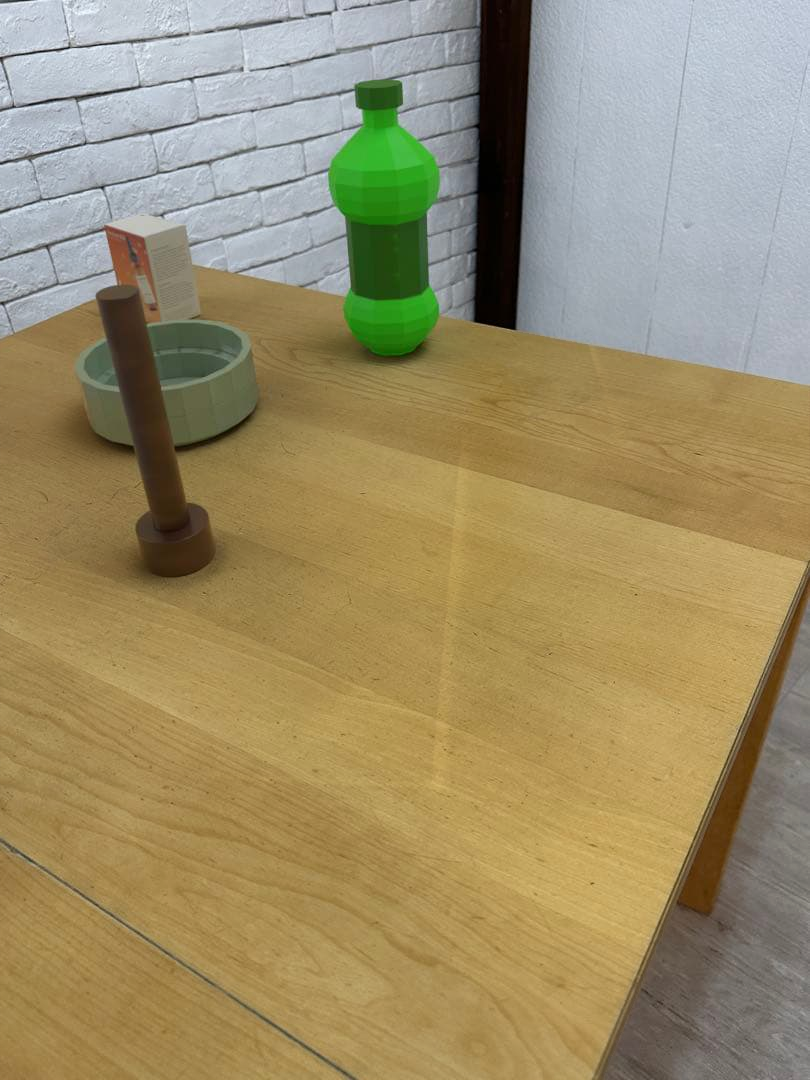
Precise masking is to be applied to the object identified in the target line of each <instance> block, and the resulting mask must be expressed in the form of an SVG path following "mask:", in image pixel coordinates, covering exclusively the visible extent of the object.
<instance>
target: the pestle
mask: <svg viewBox="0 0 810 1080" xmlns="http://www.w3.org/2000/svg"><path fill="white" fill-rule="evenodd" d="M95 300H96V305H97V308H98V312H99V317H100V319H101V324H102V328H103V331H104V336H105V337H106V340H107V344H108V348H109V352H110V356H111V360H112V364H113V367H114V371H115V375H116V379H117V383H118V387H119V391H120V395H121V399H122V403H123V407H124V411H125V415H126V419H127V423H128V427H129V430H130V434H131V438H132V442H133V446H132V447H133V449H134V454H135V458H136V461H137V464H138V469H139V474H140V478H141V481H142V485H143V489H144V494H145V498H146V501H147V505H148V509H149V510H148V511H146V512H144V514H142V515H141V516H140V517H139V519H137V522H136V524H135V527H134V530H135V534H136V535H135V536H136V539H137V542H138V545H139V550H140V553H141V557H142V560H143V565H144V566H145V568H146V570H148V571H149V572H150V573H152V574H154V575H157V576H161V577H166V578H169V577H170V578H174V577H183V576H186V575H190V574H193V573H195V572H197V571H199V570H201V569H203V568H205V567H206V566H207V565H208V564H209V563H211V561H212V560H213V559H214V556H215V554H216V545H215V540H214V535H213V531H212V526H211V521H210V516H209V512H208V511H207V510H206V509H205V508H204V507H203V506H201V505H199V504H198V503H197V504H196V503H193V502H189V501H188V502H187V497H186V493H185V489H184V484H183V480H182V475H181V470H180V466H179V462H178V458H177V453H176V449H175V447H174V443H173V439H172V435H171V430H170V426H169V421H168V417H167V412H166V408H165V403H164V399H163V394H162V390H161V385H160V381H159V376H158V372H157V367H156V363H155V359H154V354H153V350H152V345H151V341H150V336H149V332H148V327H147V324H148V322H146V318H145V314H144V309H143V305H142V300H141V296H140V291H139V289H138V287H136V286H133V285H117V284H115V285H111V286H110V285H109V286H107V287H104V288H101V289H100V290H98V291H96V293H95Z"/></svg>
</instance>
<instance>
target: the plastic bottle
mask: <svg viewBox="0 0 810 1080" xmlns="http://www.w3.org/2000/svg"><path fill="white" fill-rule="evenodd" d="M353 86H354V97H355V99H354V101H355V107H356V108H357V109H358V110H361V115H362V126H361V127H360V128H359V129H358V130H357V131H356V132H355V133H354V134H353V135H352V136H351V137H350V138H349V139H348V140H347V141H346V142H345V143H344V145H343V146H342V147H341V148H340V150H339V151H338V152H337V153H336V155H335V156H333V158H332V159H331V161H330V165H329V169H328V173H327V181H328V190H329V193H330V197H331V200H332V204H333V205H334V206H335V207H336V208H337V210H338V211H339V212H340V213H341V214H342V215H343V216H344V220H345V221H344V222H345V230H346V231H345V234H346V246H347V257H348V268H349V269H348V270H349V281H350V288H349V290H348V292H347V294H346V295H345V296H346V297H345V300H344V303H343V317H344V320H345V322H346V324H347V326H348V329H349V330H350V332H351V334H352V335H353V336H354V338H355V340H357V341H358V343H359V344H361V345H363V346H364V347H365V348H367V350H368V349H369V350H370V352H371V353H373V354H377V355H381V356H383V357H388V356H389V357H391V356H393V357H394V356H403V355H406V354H409V353H411V352H414V351H415V349H416V348H417V347H418V346H419V345H420V344H422V343H423V342H424V340H425V339H426V338H427V337H428V336H429V335H430V333H431V332H432V331H433V329H434V328H435V327H436V325H437V322H438V320H439V317H440V304H439V303H440V302H439V301H438V298H437V296H436V293H435V291H434V290H433V289H432V287H431V285H430V273H429V272H430V271H429V242H428V240H429V238H428V211H429V210H430V209H431V208H432V207H433V205H434V204H435V203H436V201H437V200H438V196H439V190H440V185H441V183H440V168H439V166H438V163H437V161H436V158H435V156H434V155H433V154H432V153H431V152H430V151H429V150H428V149H427V148H426V147H425V146H424V145H423V144H422V143H421V142H420V141H419V140H418V139H417V138H416V137H415V136H413V135H412V134H411V133H410V132H409V131H407V130H406V129H405V128H403V126H401V125H400V124H399V114H398V108H400V107H401V106H403V105H404V91H403V89H404V88H403V82H401V80H398V79H387V78H386V79H371V80H363V81H359V82H357V83H355V84H354V85H353Z"/></svg>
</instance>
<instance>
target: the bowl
mask: <svg viewBox="0 0 810 1080" xmlns="http://www.w3.org/2000/svg"><path fill="white" fill-rule="evenodd" d="M147 327H148V332H149V336H150V341H151V345H152V350H153V354H154V359H155V363H156V367H157V372H158V376H159V381H160V385H161V386H163V385H167V386H163V387H161V390H162V394H163V399H164V403H165V408H166V412H167V417H168V421H169V426H170V430H171V435H172V439H173V443H174V448H175V447H182V446H188V445H192V444H196V443H199V442H203V441H207V440H209V439H212V438H214V437H217V436H219V435H221V434H223V433H225V432H227V431H229V430H231V429H232V428H233V427H235V426H237V425H238V424H240V423H241V422H242V421H243V420H244V419H246V418H247V417H248V416H249V415H251V414H252V412H254V409H256V406H257V404H258V401H259V399H260V393H259V387H258V381H257V375H256V369H255V368H256V367H255V362H254V361H255V360H254V355H253V354H254V353H253V348H252V344H251V339H250V336H249V335H248V334H247V333H245V332H244V331H243V330H242V329H241V328H238V327H236V326H234V325H231V324H228V323H225V322H221V321H216V320H215V321H214V320H208V319H207V320H206V319H189V320H171V321H163V322H155V323H148V322H147ZM74 375H75V378H76V381H77V385H78V389H79V392H80V397H81V400H82V403H83V406H84V411H85V413H86V417H87V420H88V423H89V425H90V426H91V428H92V429H93V431H94V433H95V434H96V435H99V436H101V437H103V438H104V439H106V440H108V441H110V442H113V443H119V444H123V445H127V446H131V447H134V446H133V442H132V438H131V434H130V430H129V427H128V423H127V419H126V415H125V411H124V407H123V403H122V399H121V395H120V391H119V387H118V383H117V379H116V375H115V371H114V367H113V364H112V360H111V356H110V352H109V348H108V344H107V340H106V336H105V337H102V338H101V339H99V340H97V341H96V342H94V343H92V344H90V345H89V346H87V347H86V348H85V349H84V350H83V351H82V352H81V353H80V354H79V356H78V357H76V359H75V364H74Z"/></svg>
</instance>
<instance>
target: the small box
mask: <svg viewBox="0 0 810 1080" xmlns="http://www.w3.org/2000/svg"><path fill="white" fill-rule="evenodd" d="M103 227H104V232H105V235H106V241H107V244H108V245H107V246H108V249H109V253H110V258H111V263H112V266H113V267H112V268H113V271H114V275H115V279H116V280H115V281H116V285H133V286H136V287H138V289H139V291H140V296H141V300H142V305H143V309H144V314H145V318H146V323H147V324H148V323H155V322H163V321H171V320H192V319H193V318H196V317H199V316H200V315H201V314H202V311H201V305H200V300H199V294H198V289H197V282H196V275H195V271H194V265H193V260H192V254H191V253H192V252H191V249H190V248H191V247H190V242H189V238H188V237H189V236H188V230H187V225H186V224H185V223H182V222H175V221H172V220H168V219H165V218H161V217H158V216H154V215H152V214H149V213H146V212H142V213H138V214H135V215H132V216H128V217H125V218H120V219H117V220H114V221H110V222H107V223H104V224H103Z"/></svg>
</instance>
